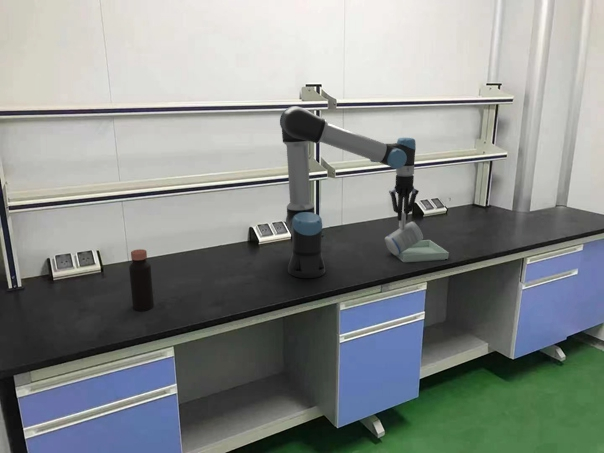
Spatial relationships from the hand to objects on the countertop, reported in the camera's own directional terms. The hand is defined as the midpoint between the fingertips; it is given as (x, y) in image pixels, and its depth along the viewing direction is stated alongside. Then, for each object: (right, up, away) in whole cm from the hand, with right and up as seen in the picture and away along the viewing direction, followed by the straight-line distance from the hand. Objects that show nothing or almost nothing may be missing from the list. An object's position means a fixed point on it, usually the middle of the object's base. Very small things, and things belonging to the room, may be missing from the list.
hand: (402, 227), depth 216 cm
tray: (+8, -12, +5) cm, 15 cm away
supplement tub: (-5, -9, +1) cm, 10 cm away
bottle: (-98, -27, -49) cm, 113 cm away
